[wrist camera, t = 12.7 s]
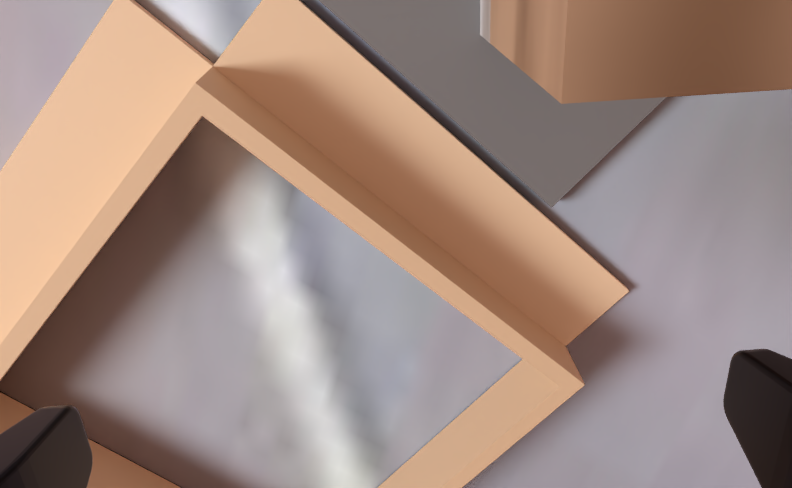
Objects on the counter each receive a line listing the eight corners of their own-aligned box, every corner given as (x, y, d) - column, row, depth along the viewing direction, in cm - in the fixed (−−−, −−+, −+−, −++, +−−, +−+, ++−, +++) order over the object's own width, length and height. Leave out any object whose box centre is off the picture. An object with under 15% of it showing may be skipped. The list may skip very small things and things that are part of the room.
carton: (626, 286, 23) (655, 325, 20) (265, 601, 29) (257, 658, 27) (184, -102, 17) (157, -107, 14) (-150, 401, 23) (-204, 452, 21)
